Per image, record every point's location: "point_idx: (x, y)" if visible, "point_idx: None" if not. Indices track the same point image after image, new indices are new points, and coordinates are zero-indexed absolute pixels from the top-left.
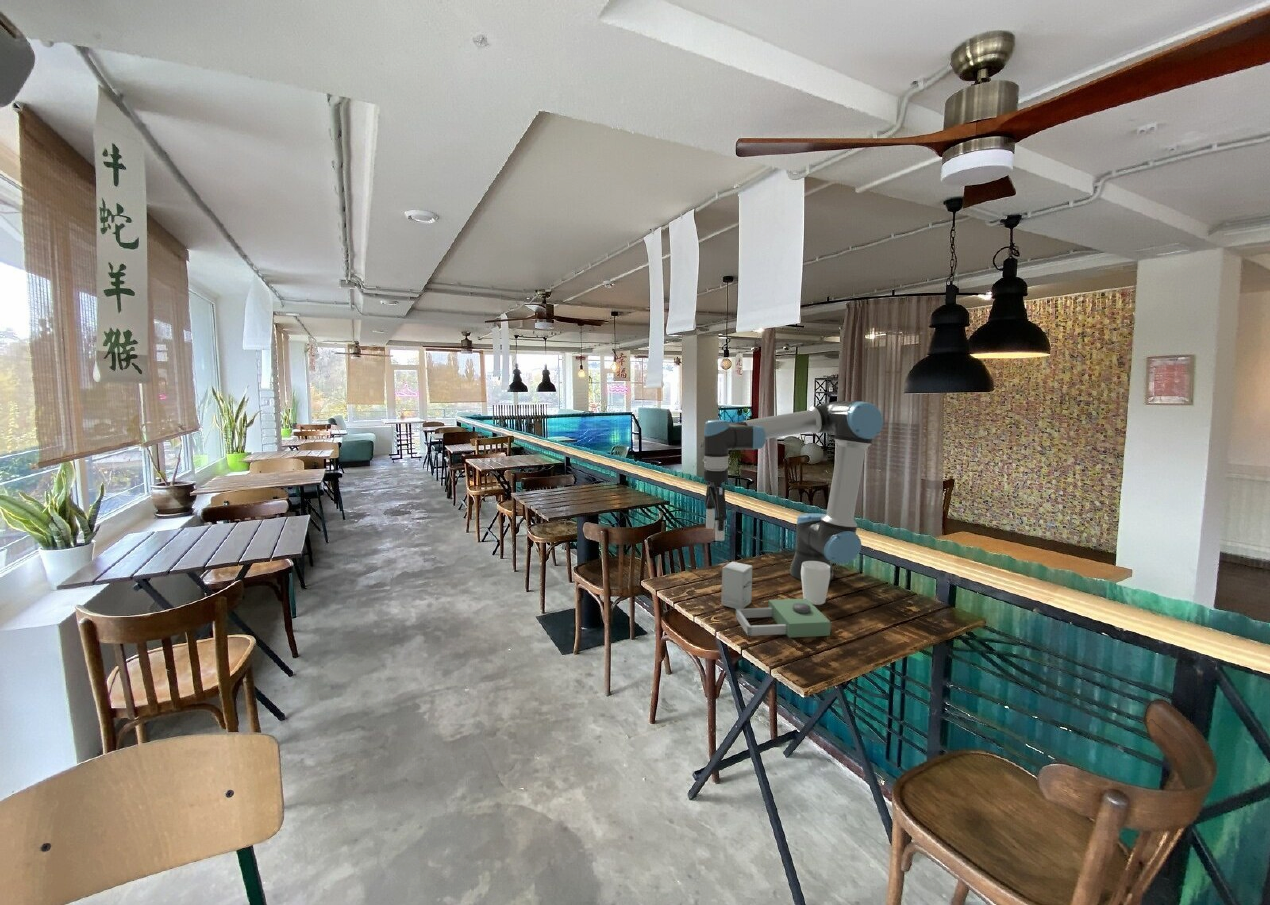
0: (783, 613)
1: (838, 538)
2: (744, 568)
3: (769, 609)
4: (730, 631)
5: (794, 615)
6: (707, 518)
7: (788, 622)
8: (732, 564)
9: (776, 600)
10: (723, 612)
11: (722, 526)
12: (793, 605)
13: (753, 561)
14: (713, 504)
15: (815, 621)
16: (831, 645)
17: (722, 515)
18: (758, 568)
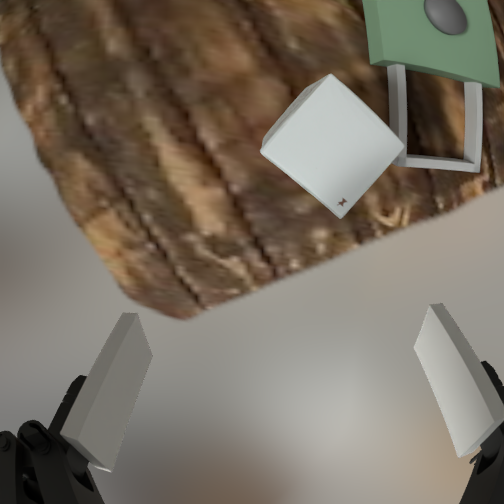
0: (460, 67)
1: None
2: (369, 125)
3: (404, 72)
4: (447, 197)
5: (468, 49)
6: (129, 408)
7: (495, 85)
8: (312, 165)
9: (386, 39)
10: None
11: (498, 389)
12: (445, 27)
13: (11, 59)
14: (80, 495)
15: (488, 26)
16: (498, 31)
17: (501, 458)
18: (48, 41)
